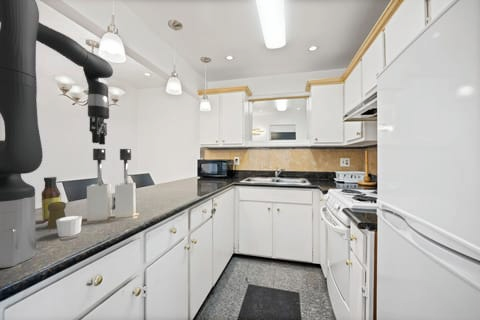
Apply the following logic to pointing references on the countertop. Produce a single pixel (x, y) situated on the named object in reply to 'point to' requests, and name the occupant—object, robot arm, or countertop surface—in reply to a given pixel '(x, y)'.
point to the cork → (55, 213)
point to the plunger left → (99, 162)
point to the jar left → (98, 202)
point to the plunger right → (125, 162)
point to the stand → (112, 219)
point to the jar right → (125, 200)
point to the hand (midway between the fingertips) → (99, 143)
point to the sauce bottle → (49, 196)
